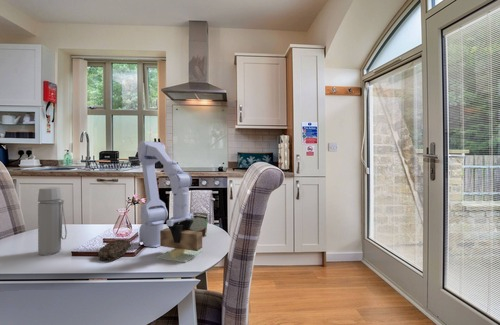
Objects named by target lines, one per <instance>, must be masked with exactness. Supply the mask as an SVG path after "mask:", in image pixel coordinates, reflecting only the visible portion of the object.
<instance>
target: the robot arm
mask: <svg viewBox="0 0 500 325" xmlns="http://www.w3.org/2000/svg"><path fill="white" fill-rule="evenodd" d="M138 143H139V144H138V146H137V150H136V151H137V156H138V162H140V163H141V167H142V174H143V175H142V176H143V183H144V189H145V190H144V191H145V198H146V202H144V203H143V205H142V206H140V221H141V222H142V224H140V227H139V231H138V232H139V233H138V234H139V235H138V236H139V237H138V240H139V241H138V242H143V243H145V244H144V246H145V247H150V248H158V247H161V246H160V231H161V230H163V229H164V223H165V222H166V226H167V228H169V229H170V231H171V233H172V236H173V240H174V243H180V239H181V231H182V230H190V227H191V225H192V223H193V220H190V219H191V218H193V213H194V212H189V207H190V206H189V204H190V203H189V200H190V199H189V196H190V194H189V193H190V192H189V190H190V188H191V186H192V183H193V178H192V175H191V174H190V173H189V172H186V171H183V169H182V168H181V167H180V166H179V165H178V162H177V161H175V160H172V159H171V158H170V156H169V155H168V154H167V152H166V145H165V144H164V142H162V141H160V142H159V141H145V140H141V141H140V142H138ZM158 162H160V163H161V165H163V167H162V170H163V172H164V173H165V175H166V176H167V177H168V178H169V185H170V187H171V188H170V189H171V193H172V194H173V195H172V198H173V199H172V203H173V204H172V205H173V206H172V217H170V218H169V219H168V215H169V213H168V208H167V207H166V203H165V202H164V201H163V200H161V199H160V194H159V190H158V189H159V188H158V181H157V175H156V168H155V164H156V163H158ZM144 246H143V247H144Z"/></svg>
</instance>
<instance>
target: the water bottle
mask: <svg viewBox="0 0 500 325" xmlns="http://www.w3.org/2000/svg"><path fill="white" fill-rule="evenodd" d="M37 202H38V204H37V230H38V232H37V234H38V235H37V241H38V242H37V245H38V246H37V247H38V248H37V250H38V251H37V253H38V254H39V255H41V256H51V255H56V254H57V253H59V252H60V251H61V250H62V240H66V238H67V233H68V232H67V225H66V217H65V209H64V202H65V200H64V199H62V192H61V187H59V186H58V187H52V186H51V187H41V188H39V189H38V197H37ZM63 223H64V224H63ZM63 225H64V230H65V231H64V232H65V235H64V238H63Z"/></svg>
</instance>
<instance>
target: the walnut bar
mask: <svg viewBox="0 0 500 325" xmlns="http://www.w3.org/2000/svg"><path fill="white" fill-rule="evenodd" d="M159 247H162V248H163V247H164V248H172V249H173V248H177V249H184V250H192V251H198V250H202V249H203V236H202V232H198V231H189V230H182V231H181V239H180V243H174V240H173V236H172V233H171V231H170V229H169V227H166V228H163V230H161V231H160V246H159Z"/></svg>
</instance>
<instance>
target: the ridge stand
mask: <svg viewBox="0 0 500 325" xmlns="http://www.w3.org/2000/svg"><path fill="white" fill-rule="evenodd" d="M203 250H204V249H200V250H198V251H192V250H184V249H177V248H172V249H169V250H167V251H166V252H163V253H162V254H160V255H158V256H157V259H161V260H166V261H173V262H180V263H188V262H189V261H191V260H192V259H193V258H195V257H196V256H198V255H199V254H201V253H203Z"/></svg>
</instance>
